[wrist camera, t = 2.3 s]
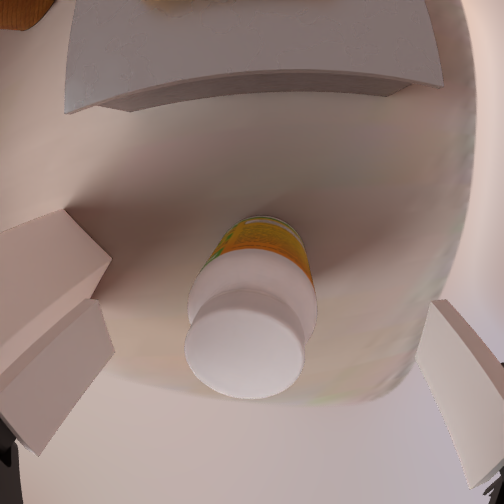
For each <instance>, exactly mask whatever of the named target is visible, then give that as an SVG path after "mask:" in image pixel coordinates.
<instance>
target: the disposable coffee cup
mask: <svg viewBox="0 0 504 504" xmlns="http://www.w3.org/2000/svg"><path fill="white" fill-rule="evenodd" d="M53 2H54V0H0V29H10V30H21V31H24V30H27V29H29V28H31V27H32V26H33V25H35V24H36V23H37V22H38V21H39V20H40V19H41V18H42V17H43V16H44V14H45V13H46V12H47V11H48V9H49V8H50V7H51V5H52V4H53Z"/></svg>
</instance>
